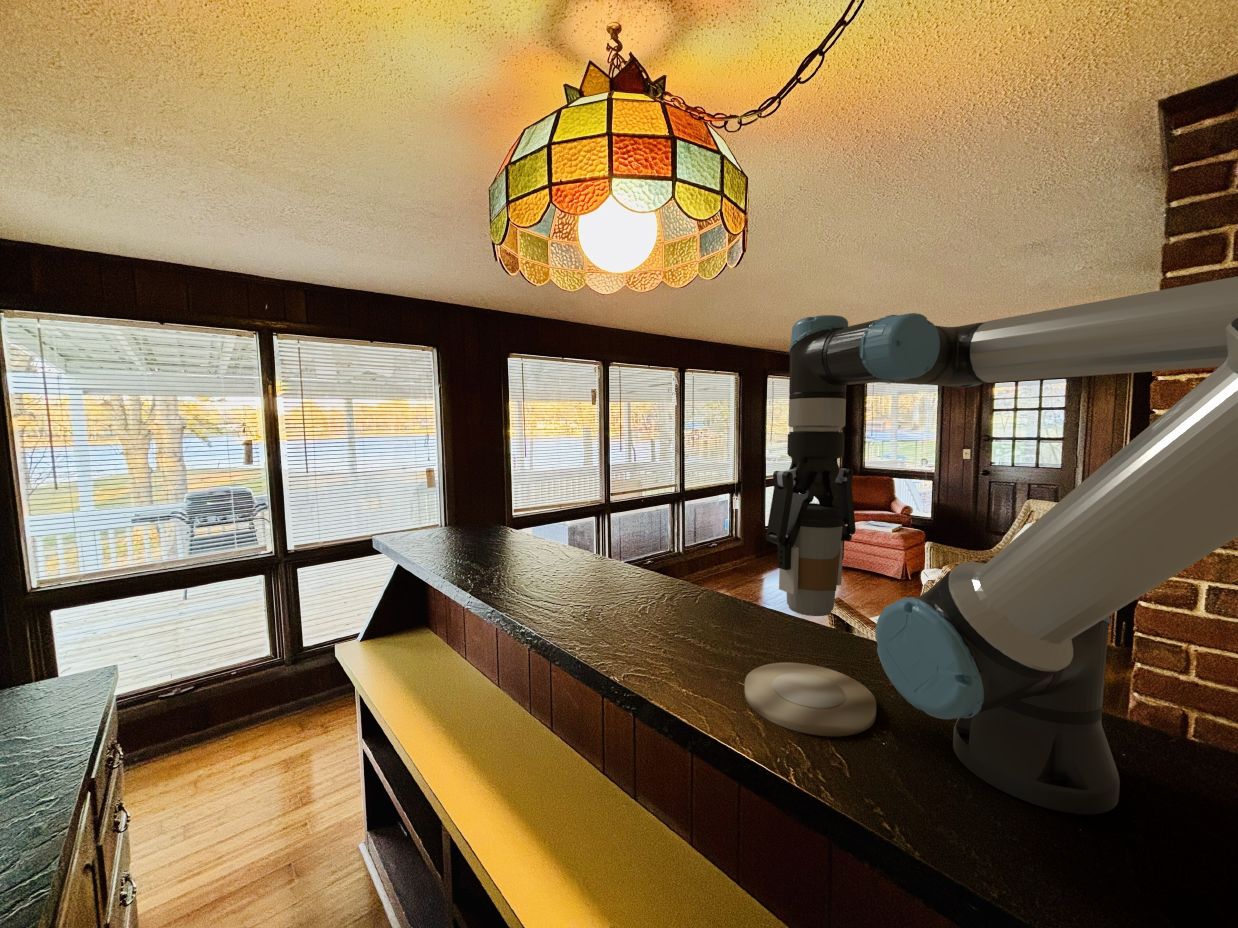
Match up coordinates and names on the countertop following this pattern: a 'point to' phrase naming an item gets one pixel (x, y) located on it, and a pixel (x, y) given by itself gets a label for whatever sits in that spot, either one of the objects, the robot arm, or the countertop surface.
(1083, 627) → the robot arm
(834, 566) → the coffee cup
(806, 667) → the cream round saucer
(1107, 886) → the countertop surface
